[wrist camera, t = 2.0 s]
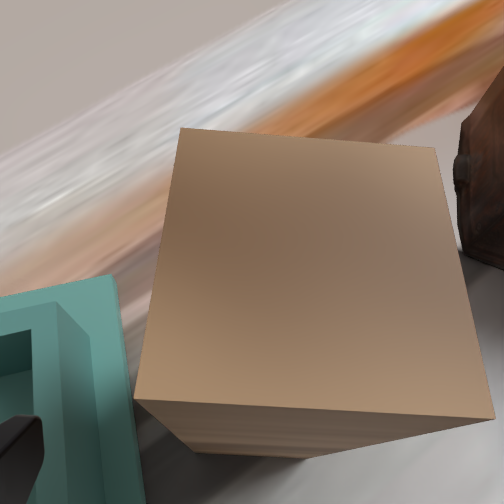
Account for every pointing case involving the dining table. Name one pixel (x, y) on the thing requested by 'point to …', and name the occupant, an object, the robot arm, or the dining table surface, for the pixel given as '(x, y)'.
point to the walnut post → (307, 299)
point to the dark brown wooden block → (482, 178)
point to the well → (73, 390)
